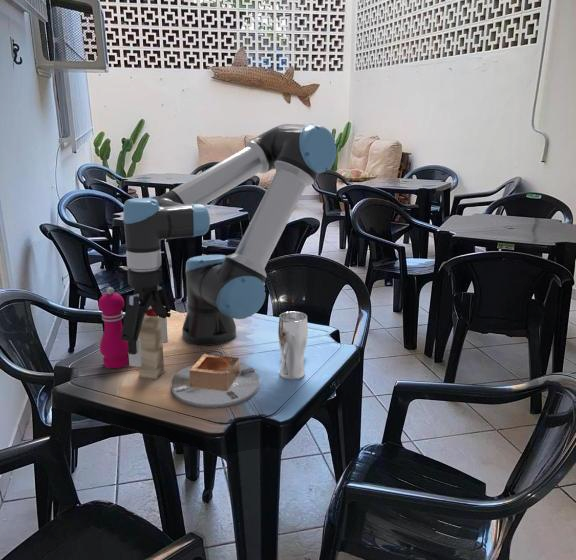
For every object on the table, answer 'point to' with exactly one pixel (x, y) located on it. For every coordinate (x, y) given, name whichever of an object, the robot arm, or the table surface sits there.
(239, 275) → the robot arm
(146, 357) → the wedge pin
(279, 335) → the beer glass
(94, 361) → the table surface
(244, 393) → the rosette plate
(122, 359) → the pepper mill
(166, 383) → the table surface
